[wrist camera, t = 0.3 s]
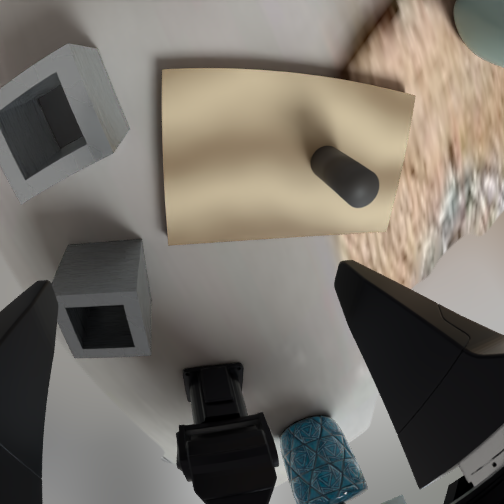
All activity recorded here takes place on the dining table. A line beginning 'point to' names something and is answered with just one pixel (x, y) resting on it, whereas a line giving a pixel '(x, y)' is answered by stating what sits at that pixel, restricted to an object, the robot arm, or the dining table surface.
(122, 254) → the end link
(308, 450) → the lamp
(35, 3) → the dining table surface
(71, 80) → the grey open cube box
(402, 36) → the dining table surface
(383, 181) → the board
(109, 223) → the dining table surface
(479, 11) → the cup
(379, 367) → the robot arm
